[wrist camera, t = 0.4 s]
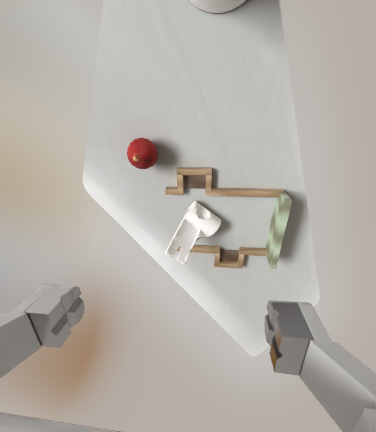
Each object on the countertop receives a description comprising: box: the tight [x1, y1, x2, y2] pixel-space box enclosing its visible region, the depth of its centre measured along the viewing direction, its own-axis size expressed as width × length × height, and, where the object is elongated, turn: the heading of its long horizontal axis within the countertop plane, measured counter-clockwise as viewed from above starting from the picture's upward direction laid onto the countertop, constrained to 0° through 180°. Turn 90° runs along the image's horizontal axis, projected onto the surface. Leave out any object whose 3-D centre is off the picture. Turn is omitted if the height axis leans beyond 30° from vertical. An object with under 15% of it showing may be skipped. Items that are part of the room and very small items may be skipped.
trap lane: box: [165, 167, 292, 269], centre depth 48 cm, size 27×26×6 cm
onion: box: [127, 138, 158, 169], centre depth 41 cm, size 6×6×8 cm
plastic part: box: [165, 201, 221, 265], centre depth 47 cm, size 8×10×12 cm
